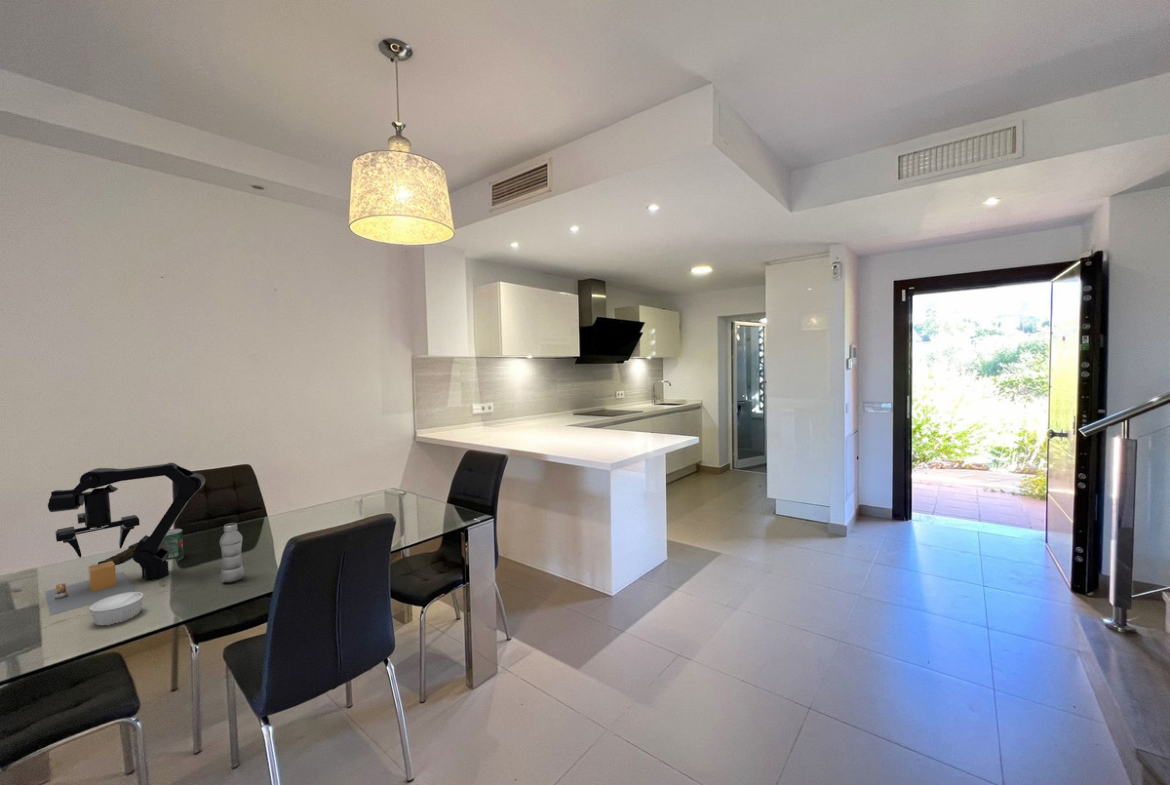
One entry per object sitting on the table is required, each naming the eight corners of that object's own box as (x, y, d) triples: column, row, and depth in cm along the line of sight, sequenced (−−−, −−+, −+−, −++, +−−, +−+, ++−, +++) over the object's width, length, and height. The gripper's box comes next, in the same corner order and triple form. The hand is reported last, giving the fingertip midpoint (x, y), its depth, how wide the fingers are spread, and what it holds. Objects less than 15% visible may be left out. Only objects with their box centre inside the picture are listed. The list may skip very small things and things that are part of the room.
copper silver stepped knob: (71, 594, 144) (70, 582, 144) (60, 599, 142) (59, 587, 141) (62, 594, 145) (62, 582, 144) (52, 599, 142) (51, 586, 142)
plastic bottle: (239, 574, 162) (236, 520, 161) (248, 579, 158) (245, 523, 157) (217, 582, 156) (214, 525, 155) (226, 586, 153) (223, 529, 152)
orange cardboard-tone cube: (116, 585, 151) (115, 565, 150) (91, 592, 146) (90, 571, 146) (113, 580, 154) (112, 560, 154) (89, 587, 150) (88, 566, 149)
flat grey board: (136, 595, 147) (135, 591, 147) (50, 620, 132) (50, 615, 132) (123, 575, 161) (123, 571, 161) (45, 595, 147) (45, 591, 147)
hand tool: (109, 571, 166) (108, 559, 165) (96, 571, 165) (96, 559, 165) (151, 551, 184) (150, 539, 184) (140, 551, 184) (139, 540, 184)
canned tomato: (150, 563, 172) (149, 535, 171) (172, 555, 179) (171, 528, 179) (167, 564, 170) (165, 536, 170) (189, 556, 178) (187, 529, 177)
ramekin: (146, 617, 134) (145, 599, 134) (90, 633, 126) (89, 615, 126) (142, 604, 142) (141, 587, 142) (90, 618, 133) (89, 601, 133)
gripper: (133, 496, 161) (136, 538, 162) (53, 509, 147) (56, 555, 148) (138, 501, 155) (141, 545, 155) (54, 516, 140) (58, 564, 141)
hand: (100, 552), depth 150 cm, fingers open, 9 cm apart
